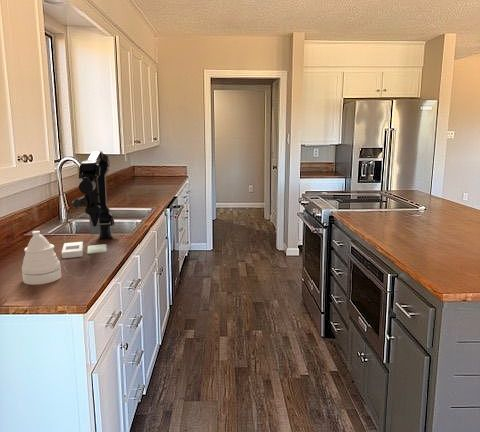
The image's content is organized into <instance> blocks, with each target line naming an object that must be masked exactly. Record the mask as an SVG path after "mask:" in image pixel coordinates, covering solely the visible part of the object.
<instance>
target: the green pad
mask: <svg viewBox="0 0 480 432" xmlns="http://www.w3.org/2000/svg"><path fill="white" fill-rule="evenodd" d="M86 251H87V255H89V254H101V253H107V244H106V243H105V244H104V243H103V244H95V245H94V244H93V245H87V250H86Z"/></svg>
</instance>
